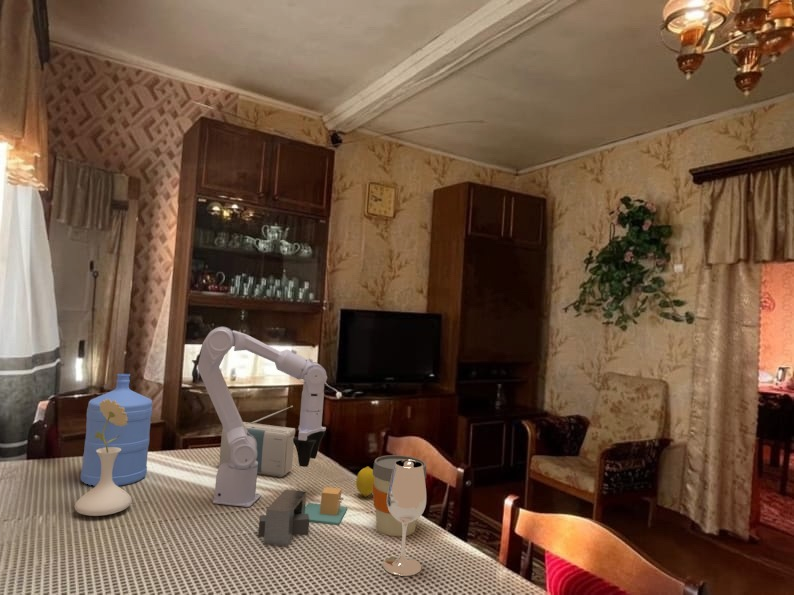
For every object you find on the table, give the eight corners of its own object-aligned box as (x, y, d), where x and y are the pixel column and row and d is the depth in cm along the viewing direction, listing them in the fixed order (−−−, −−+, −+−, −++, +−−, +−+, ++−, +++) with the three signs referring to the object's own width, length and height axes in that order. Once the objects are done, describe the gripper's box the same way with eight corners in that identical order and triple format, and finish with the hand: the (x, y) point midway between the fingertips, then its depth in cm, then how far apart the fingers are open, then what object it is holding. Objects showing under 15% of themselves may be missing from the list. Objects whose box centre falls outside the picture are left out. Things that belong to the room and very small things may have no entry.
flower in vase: (139, 512, 116) (148, 402, 117) (82, 525, 107) (93, 406, 108) (118, 496, 125) (128, 394, 126) (65, 506, 116) (75, 397, 117)
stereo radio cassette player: (217, 470, 150) (223, 402, 151) (232, 462, 158) (237, 398, 159) (282, 479, 145) (288, 409, 146) (294, 471, 153) (299, 405, 154)
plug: (320, 513, 121) (321, 492, 121) (324, 507, 125) (325, 487, 125) (339, 515, 121) (341, 494, 121) (343, 509, 125) (344, 489, 125)
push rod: (258, 537, 108) (259, 521, 108) (258, 531, 111) (259, 515, 111) (308, 535, 111) (309, 519, 111) (306, 529, 114) (308, 513, 114)
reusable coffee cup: (386, 512, 126) (391, 452, 126) (432, 526, 119) (436, 462, 120) (358, 529, 115) (362, 462, 116) (406, 545, 109) (410, 474, 109)
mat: (296, 520, 117) (296, 518, 118) (308, 504, 127) (308, 502, 127) (338, 525, 116) (339, 522, 117) (347, 509, 126) (347, 507, 126)
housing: (263, 543, 105) (266, 509, 105) (283, 520, 117) (285, 489, 117) (287, 546, 104) (289, 512, 104) (304, 522, 117) (306, 491, 117)
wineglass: (381, 556, 103) (387, 457, 103) (419, 557, 103) (425, 458, 104) (383, 576, 95) (390, 468, 96) (424, 577, 95) (431, 470, 96)
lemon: (373, 501, 133) (375, 470, 133) (352, 498, 134) (355, 468, 134) (377, 494, 138) (380, 465, 139) (358, 491, 139) (360, 462, 140)
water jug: (158, 478, 139) (167, 376, 141) (99, 492, 126) (110, 379, 127) (126, 465, 148) (135, 369, 149) (68, 478, 134) (78, 372, 136)
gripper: (319, 416, 125) (315, 471, 124) (332, 406, 139) (329, 456, 139) (291, 413, 126) (287, 468, 125) (307, 404, 140) (304, 453, 139)
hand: (307, 462), depth 132 cm, fingers open, 7 cm apart
